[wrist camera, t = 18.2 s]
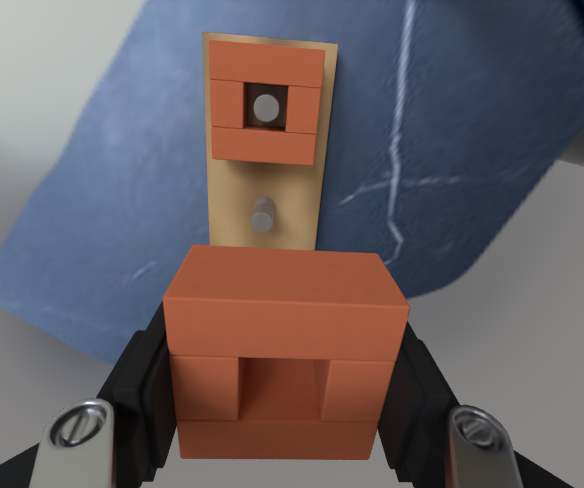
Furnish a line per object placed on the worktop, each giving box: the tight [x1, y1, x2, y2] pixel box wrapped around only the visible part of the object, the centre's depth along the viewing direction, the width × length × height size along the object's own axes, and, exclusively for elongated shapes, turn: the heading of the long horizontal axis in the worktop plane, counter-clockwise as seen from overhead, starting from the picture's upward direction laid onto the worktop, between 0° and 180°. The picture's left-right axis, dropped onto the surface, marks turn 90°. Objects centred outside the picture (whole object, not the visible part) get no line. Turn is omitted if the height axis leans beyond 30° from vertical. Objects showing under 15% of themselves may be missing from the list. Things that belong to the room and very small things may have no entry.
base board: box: [202, 32, 338, 251], centre depth 21 cm, size 8×14×5 cm, turn 176°
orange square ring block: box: [163, 245, 410, 460], centre depth 10 cm, size 6×6×3 cm
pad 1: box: [209, 40, 325, 166], centre depth 19 cm, size 6×6×3 cm
